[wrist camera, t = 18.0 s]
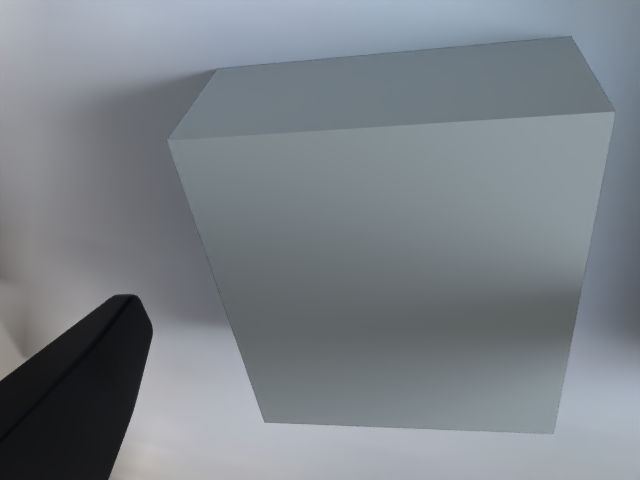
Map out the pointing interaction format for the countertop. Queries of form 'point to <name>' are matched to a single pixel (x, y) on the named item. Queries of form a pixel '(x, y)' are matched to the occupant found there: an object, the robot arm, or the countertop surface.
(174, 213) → the countertop surface
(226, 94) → the cover
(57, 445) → the robot arm
